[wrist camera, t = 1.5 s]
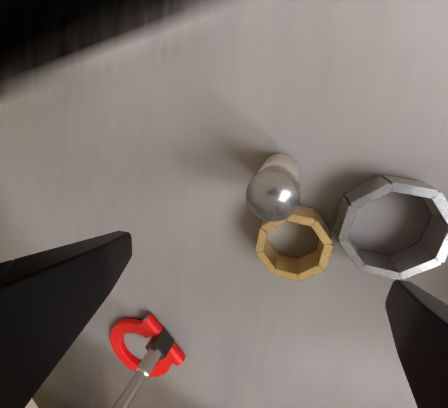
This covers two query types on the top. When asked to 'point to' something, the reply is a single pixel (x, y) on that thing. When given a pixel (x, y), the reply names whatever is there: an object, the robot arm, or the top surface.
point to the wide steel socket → (410, 257)
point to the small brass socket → (293, 266)
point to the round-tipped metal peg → (275, 189)
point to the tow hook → (153, 360)
